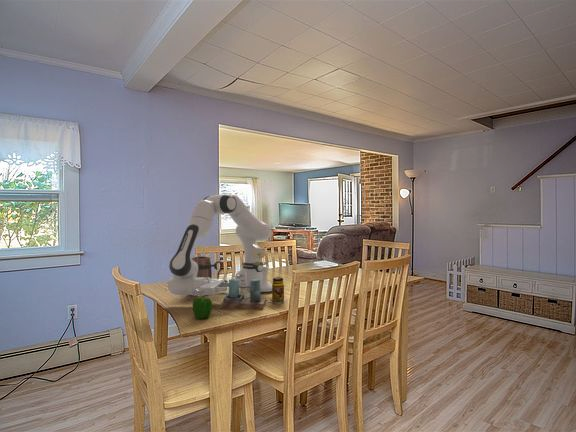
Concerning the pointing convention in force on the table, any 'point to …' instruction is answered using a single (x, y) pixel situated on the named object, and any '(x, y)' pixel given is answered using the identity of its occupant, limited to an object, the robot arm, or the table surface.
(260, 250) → the flower in vase
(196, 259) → the tankard
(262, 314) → the table surface
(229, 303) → the base
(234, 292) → the column
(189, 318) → the table surface
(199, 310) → the bell pepper
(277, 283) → the condiment
